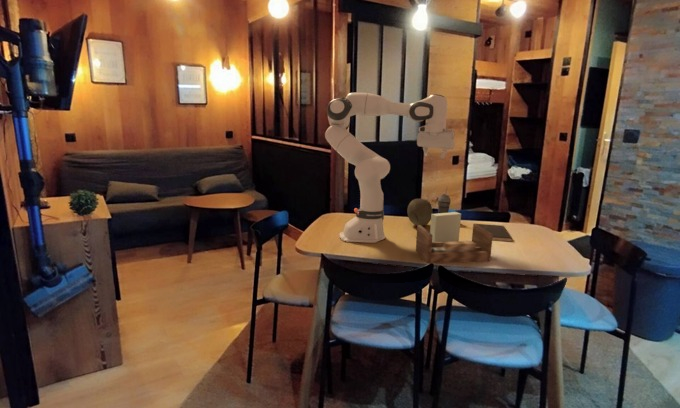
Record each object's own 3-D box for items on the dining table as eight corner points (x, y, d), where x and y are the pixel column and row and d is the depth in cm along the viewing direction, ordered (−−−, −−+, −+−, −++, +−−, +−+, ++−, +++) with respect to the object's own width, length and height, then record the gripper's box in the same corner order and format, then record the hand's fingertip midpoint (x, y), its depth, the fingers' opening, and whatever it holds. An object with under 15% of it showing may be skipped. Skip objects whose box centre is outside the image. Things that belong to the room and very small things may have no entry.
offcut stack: (433, 261, 169) (434, 244, 168) (430, 258, 173) (431, 241, 171) (478, 260, 172) (480, 243, 170) (474, 257, 175) (476, 241, 174)
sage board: (434, 244, 190) (436, 216, 187) (429, 242, 194) (431, 214, 191) (458, 241, 195) (461, 213, 192) (453, 239, 199) (455, 211, 196)
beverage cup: (441, 218, 238) (444, 185, 234) (451, 221, 233) (454, 187, 228) (433, 220, 234) (436, 186, 229) (443, 223, 228) (446, 188, 224)
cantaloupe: (437, 227, 219) (439, 200, 216) (416, 230, 213) (418, 202, 210) (421, 221, 232) (423, 195, 228) (400, 223, 225) (402, 197, 222)
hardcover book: (478, 239, 201) (478, 235, 201) (473, 227, 223) (473, 223, 223) (512, 242, 198) (513, 238, 197) (504, 229, 220) (504, 225, 219)
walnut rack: (426, 263, 167) (428, 235, 164) (415, 250, 181) (417, 225, 179) (489, 261, 170) (492, 233, 168) (473, 249, 185) (476, 224, 182)
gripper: (458, 129, 193) (456, 158, 196) (423, 127, 207) (421, 154, 211) (450, 129, 188) (448, 159, 191) (415, 127, 203) (414, 155, 206)
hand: (434, 157), depth 201 cm, fingers open, 8 cm apart
